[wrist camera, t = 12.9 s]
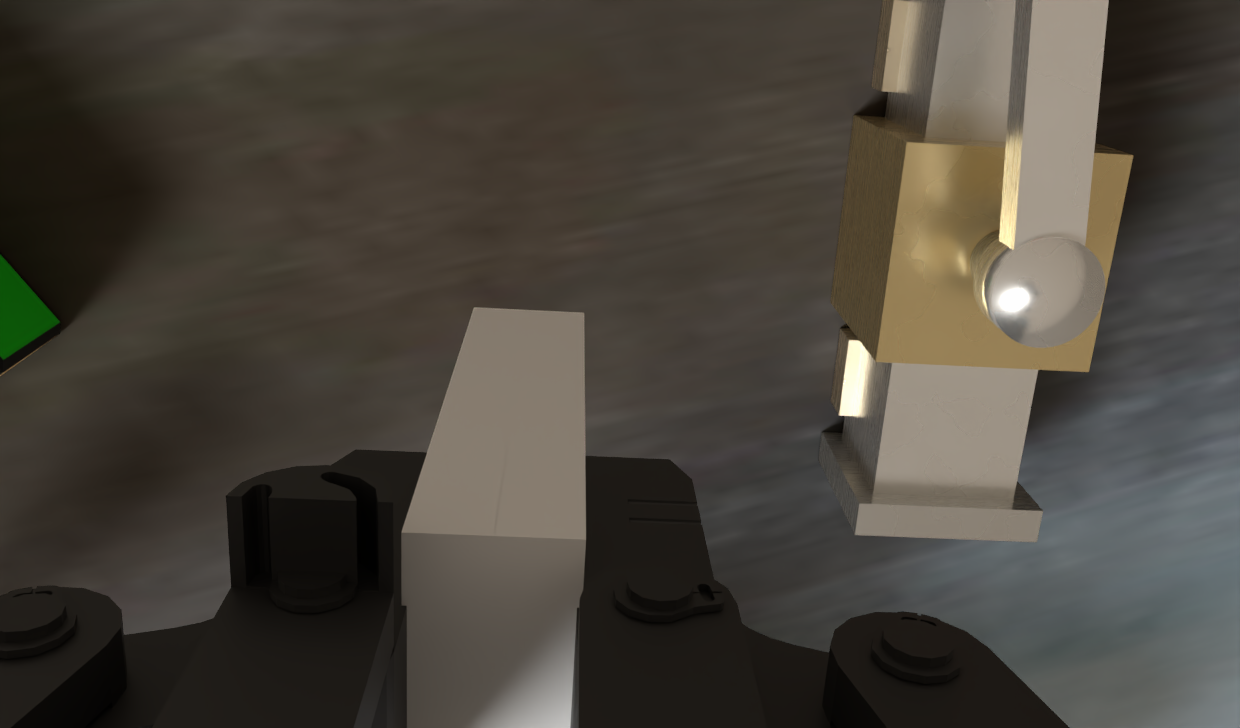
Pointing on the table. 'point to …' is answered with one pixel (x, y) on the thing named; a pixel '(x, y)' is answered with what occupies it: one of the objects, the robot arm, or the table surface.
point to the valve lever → (1048, 178)
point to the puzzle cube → (21, 319)
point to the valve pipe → (939, 288)
